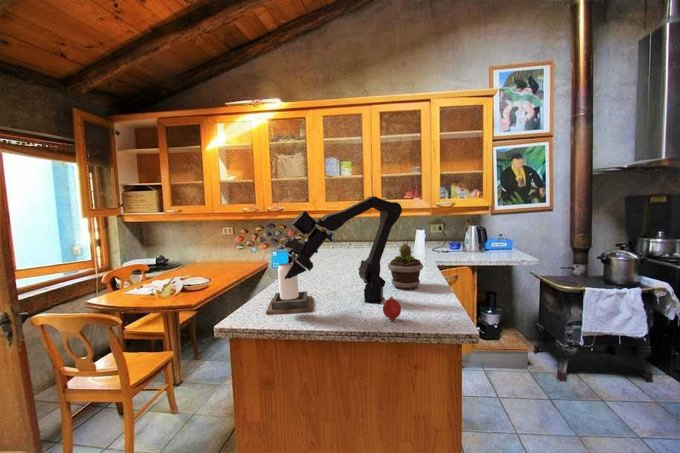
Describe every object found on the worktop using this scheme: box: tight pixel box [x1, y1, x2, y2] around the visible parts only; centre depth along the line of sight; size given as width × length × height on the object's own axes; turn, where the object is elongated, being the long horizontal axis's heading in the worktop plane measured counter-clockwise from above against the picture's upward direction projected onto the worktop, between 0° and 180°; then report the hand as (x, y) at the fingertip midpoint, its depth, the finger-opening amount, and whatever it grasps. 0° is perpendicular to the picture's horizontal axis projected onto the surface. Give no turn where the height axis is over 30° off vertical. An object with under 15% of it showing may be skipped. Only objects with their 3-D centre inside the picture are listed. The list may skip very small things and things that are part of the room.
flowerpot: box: [387, 242, 424, 291], centre depth 144 cm, size 14×15×20 cm
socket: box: [265, 290, 313, 315], centre depth 125 cm, size 16×16×4 cm
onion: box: [382, 296, 402, 322], centre depth 106 cm, size 6×6×8 cm
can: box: [277, 262, 299, 300], centre depth 115 cm, size 6×6×12 cm
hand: (283, 277), depth 115 cm, fingers closed on can, 6 cm apart
